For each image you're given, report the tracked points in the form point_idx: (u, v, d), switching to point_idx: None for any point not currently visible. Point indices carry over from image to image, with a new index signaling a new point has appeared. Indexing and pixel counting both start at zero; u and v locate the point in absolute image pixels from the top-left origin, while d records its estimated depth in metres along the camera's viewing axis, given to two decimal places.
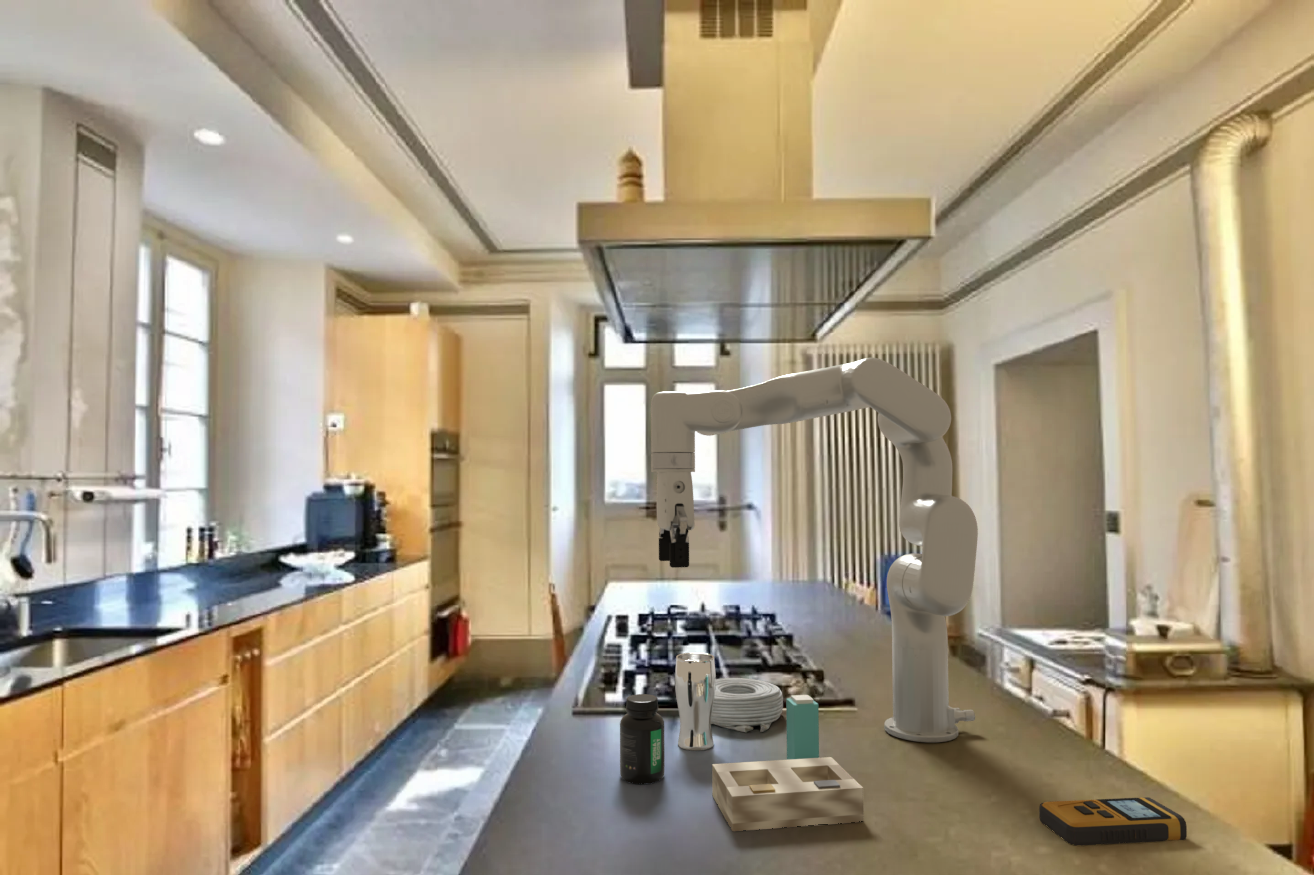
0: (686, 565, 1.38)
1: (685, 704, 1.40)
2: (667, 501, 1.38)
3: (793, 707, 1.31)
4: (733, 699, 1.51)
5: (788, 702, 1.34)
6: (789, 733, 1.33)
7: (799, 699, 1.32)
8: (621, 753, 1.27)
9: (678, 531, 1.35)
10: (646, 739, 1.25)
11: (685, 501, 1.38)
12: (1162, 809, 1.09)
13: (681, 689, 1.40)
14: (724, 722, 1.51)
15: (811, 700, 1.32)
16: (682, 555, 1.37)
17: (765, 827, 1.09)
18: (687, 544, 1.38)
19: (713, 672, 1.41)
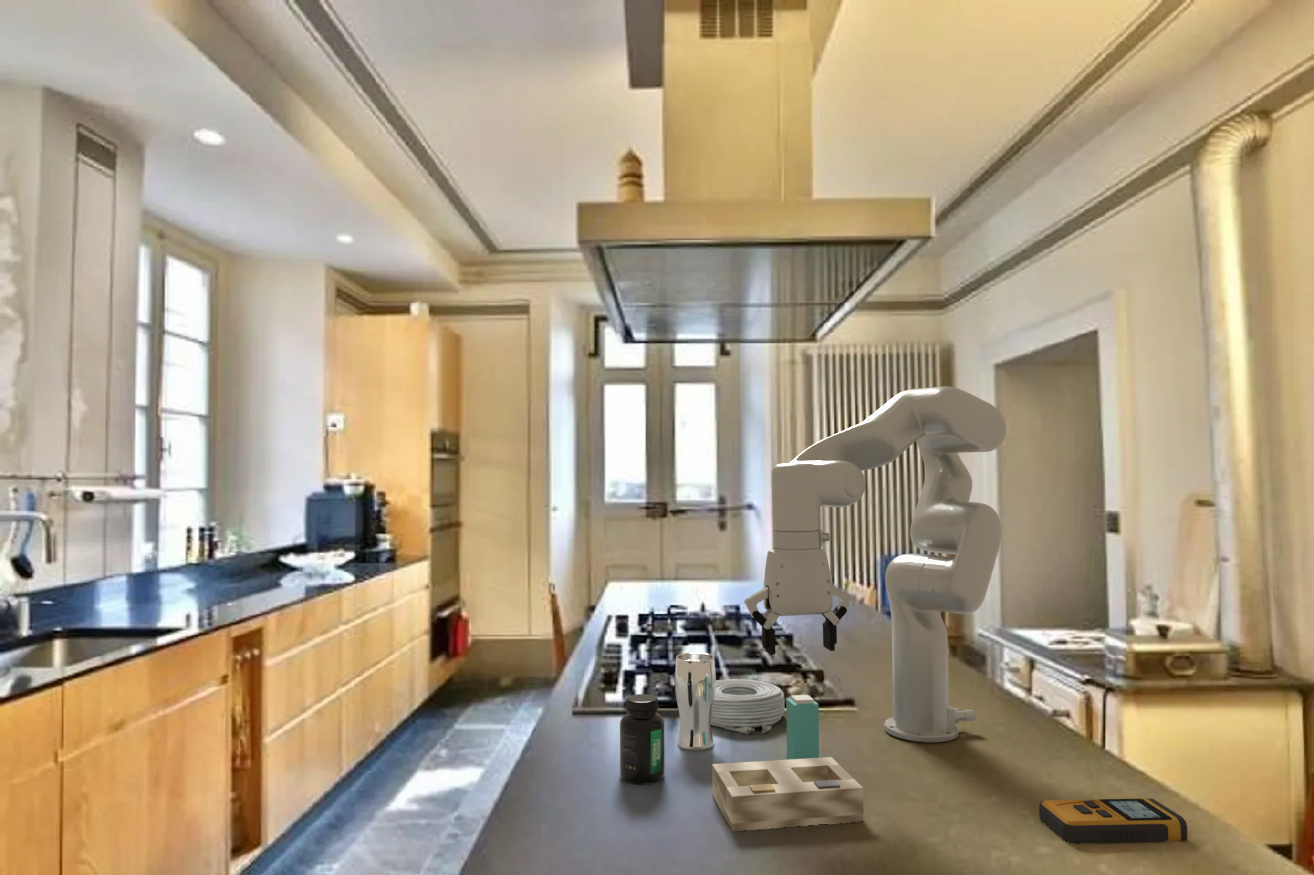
0: None
1: (685, 704, 1.40)
2: (830, 581, 1.30)
3: (794, 706, 1.31)
4: (734, 700, 1.50)
5: (788, 702, 1.34)
6: (789, 733, 1.33)
7: (799, 699, 1.32)
8: (621, 753, 1.27)
9: (846, 610, 1.31)
10: (646, 739, 1.25)
11: None
12: (1164, 810, 1.08)
13: (681, 689, 1.40)
14: (725, 723, 1.50)
15: (811, 700, 1.32)
16: None
17: (765, 827, 1.09)
18: None
19: (713, 672, 1.41)
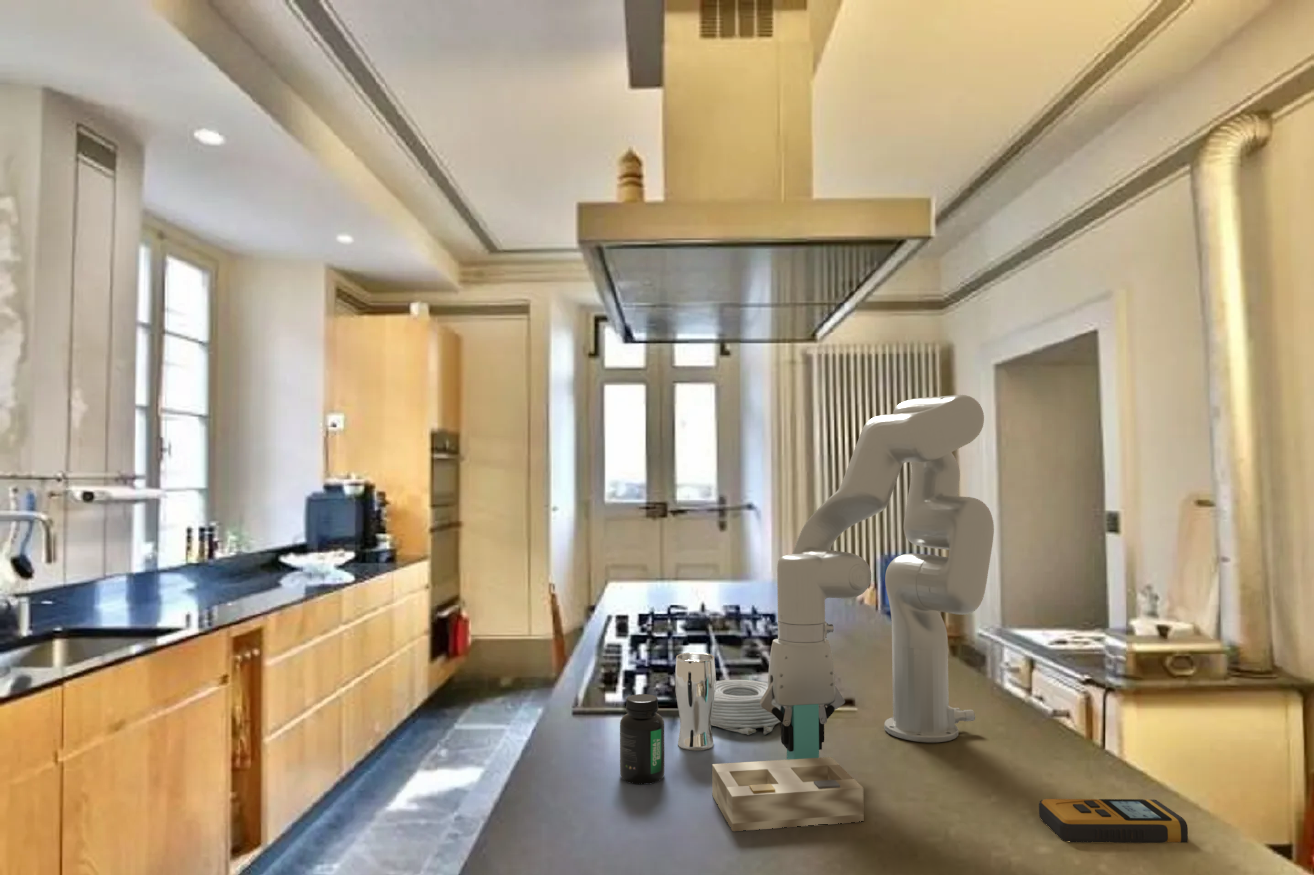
0: None
1: (686, 704, 1.40)
2: (833, 673, 1.32)
3: (794, 706, 1.31)
4: (736, 701, 1.50)
5: None
6: None
7: None
8: (621, 753, 1.27)
9: (834, 709, 1.33)
10: (646, 739, 1.25)
11: None
12: (1165, 811, 1.08)
13: (681, 689, 1.40)
14: (727, 724, 1.50)
15: None
16: None
17: (765, 827, 1.09)
18: None
19: (713, 672, 1.41)
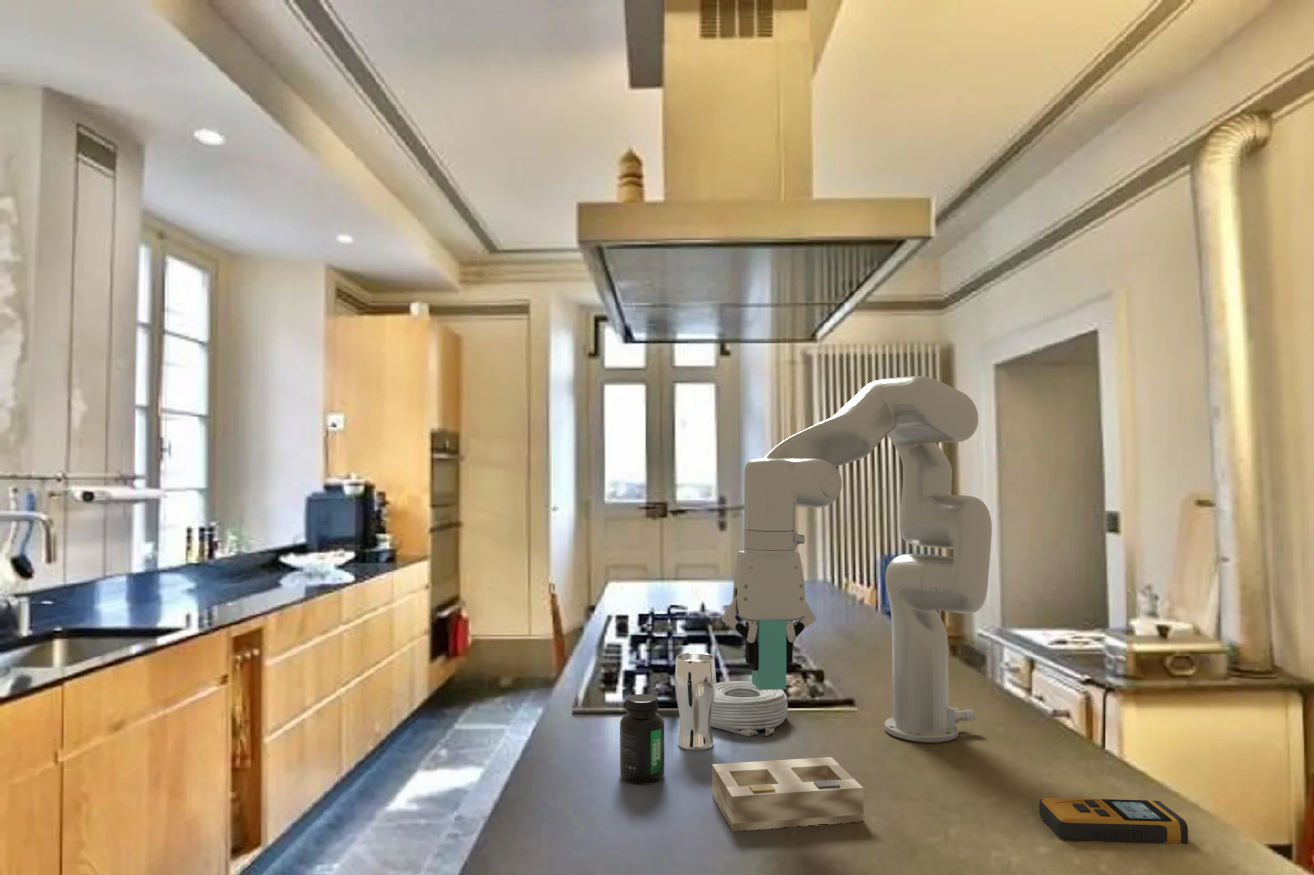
0: None
1: (685, 704, 1.40)
2: (803, 586, 1.21)
3: (759, 621, 1.20)
4: (737, 703, 1.49)
5: None
6: None
7: None
8: (621, 753, 1.27)
9: (803, 626, 1.22)
10: (646, 739, 1.25)
11: None
12: (1166, 812, 1.08)
13: (681, 689, 1.40)
14: (728, 726, 1.49)
15: None
16: None
17: (765, 827, 1.09)
18: None
19: (713, 672, 1.41)
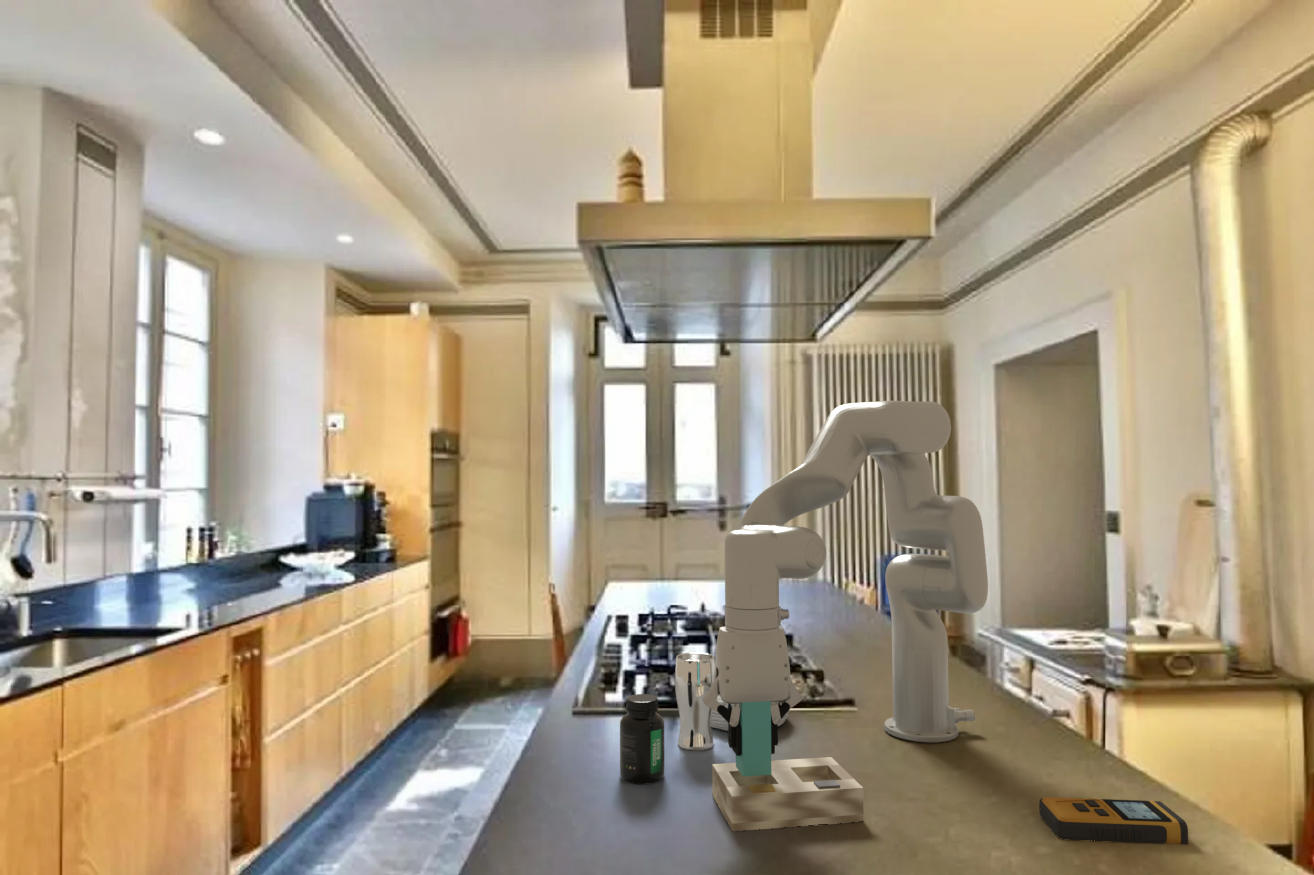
0: None
1: (685, 704, 1.40)
2: (788, 666, 1.15)
3: (742, 704, 1.14)
4: None
5: None
6: None
7: None
8: (621, 753, 1.27)
9: (789, 707, 1.16)
10: (646, 739, 1.25)
11: None
12: (1167, 813, 1.07)
13: (681, 689, 1.40)
14: None
15: None
16: None
17: (765, 827, 1.09)
18: None
19: (713, 672, 1.41)
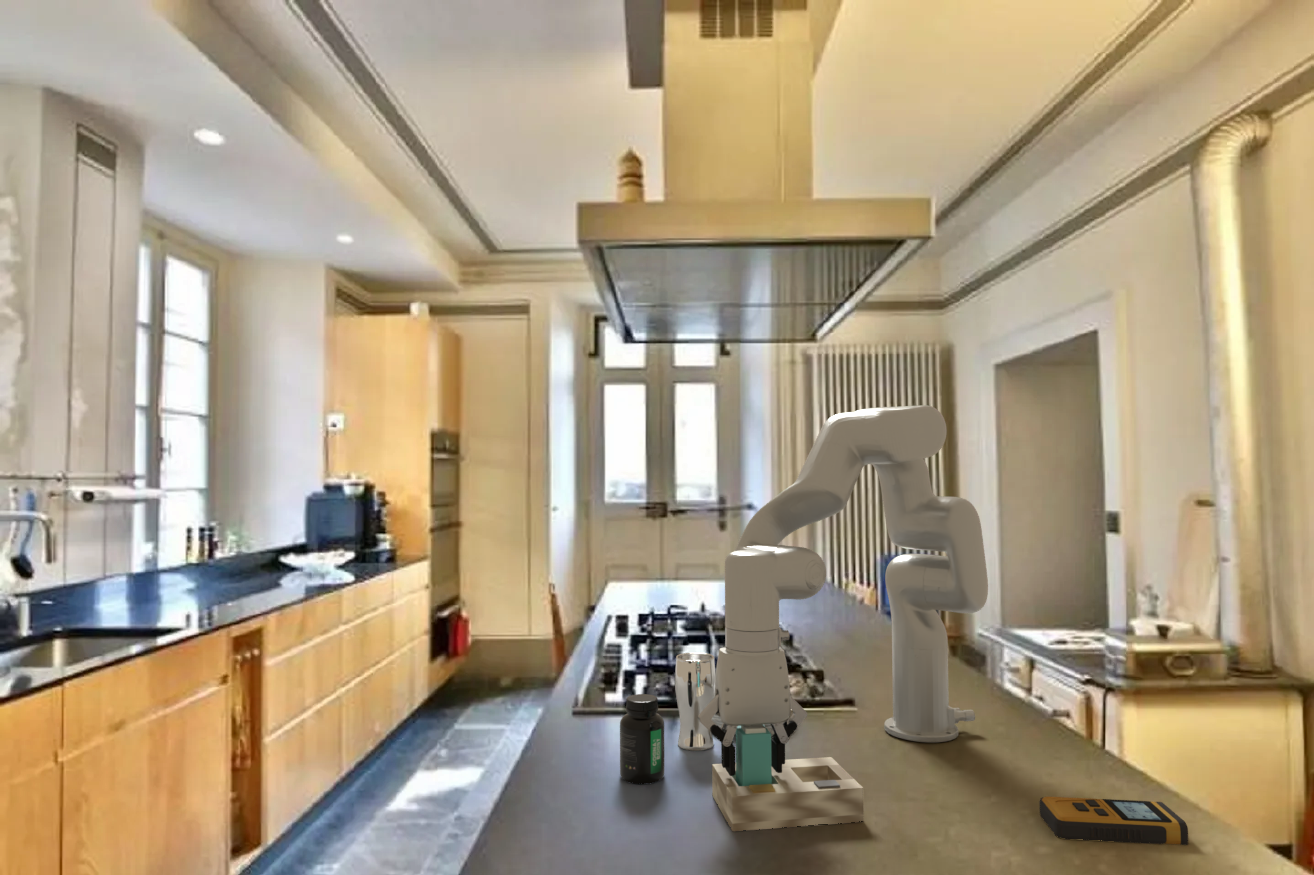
0: None
1: (685, 704, 1.40)
2: (789, 687, 1.15)
3: (742, 737, 1.13)
4: None
5: (737, 730, 1.16)
6: (738, 767, 1.16)
7: (749, 728, 1.15)
8: (621, 753, 1.27)
9: (796, 725, 1.16)
10: (646, 739, 1.25)
11: None
12: (1167, 813, 1.07)
13: (681, 689, 1.40)
14: None
15: (763, 729, 1.14)
16: None
17: (765, 827, 1.09)
18: None
19: (713, 672, 1.41)
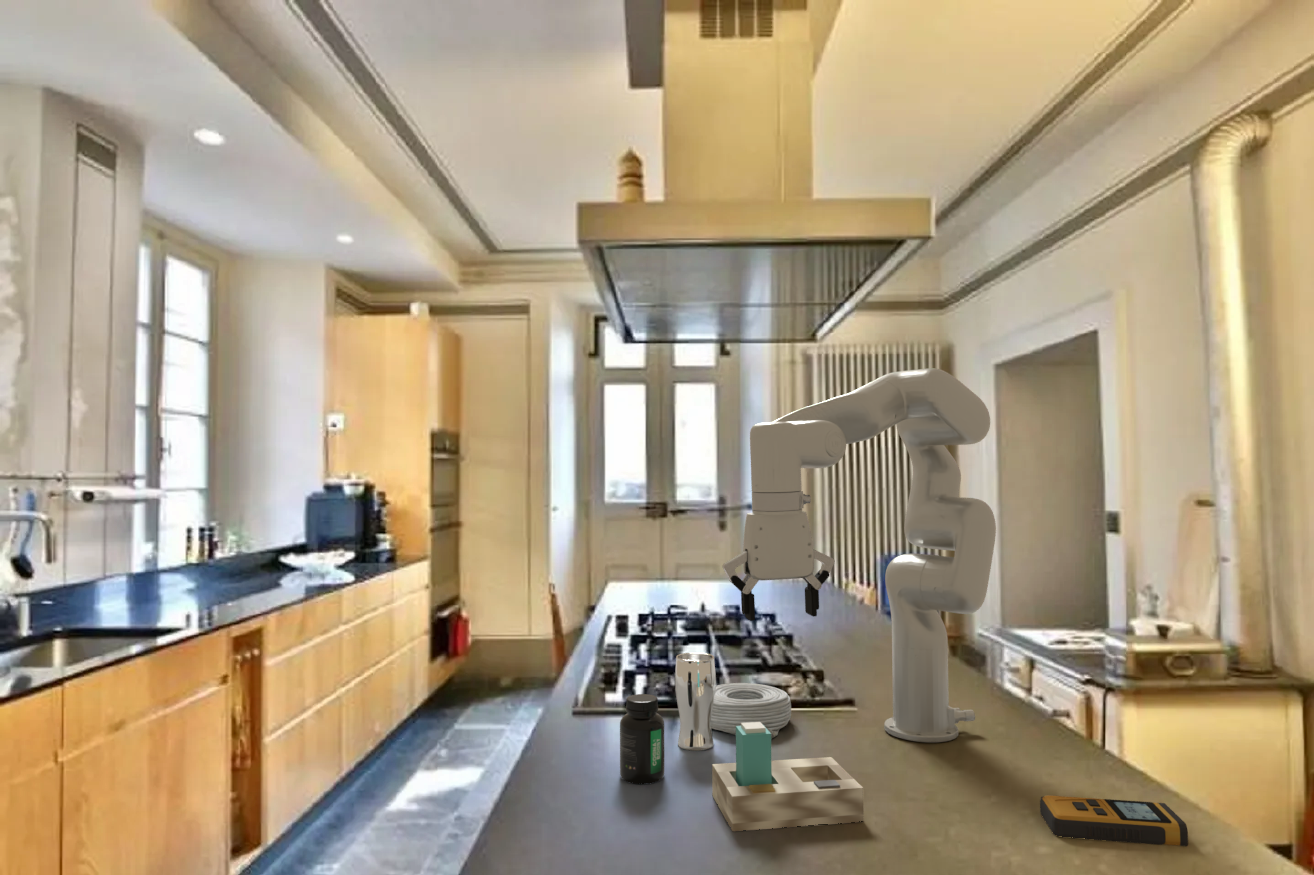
0: None
1: (685, 704, 1.40)
2: (811, 544, 1.25)
3: (742, 736, 1.14)
4: (741, 705, 1.47)
5: (737, 730, 1.16)
6: (738, 767, 1.16)
7: (749, 727, 1.15)
8: (621, 753, 1.27)
9: (828, 574, 1.27)
10: (646, 739, 1.25)
11: None
12: (1168, 814, 1.07)
13: (681, 689, 1.40)
14: (731, 729, 1.47)
15: (763, 729, 1.15)
16: None
17: (765, 827, 1.09)
18: None
19: (713, 672, 1.41)
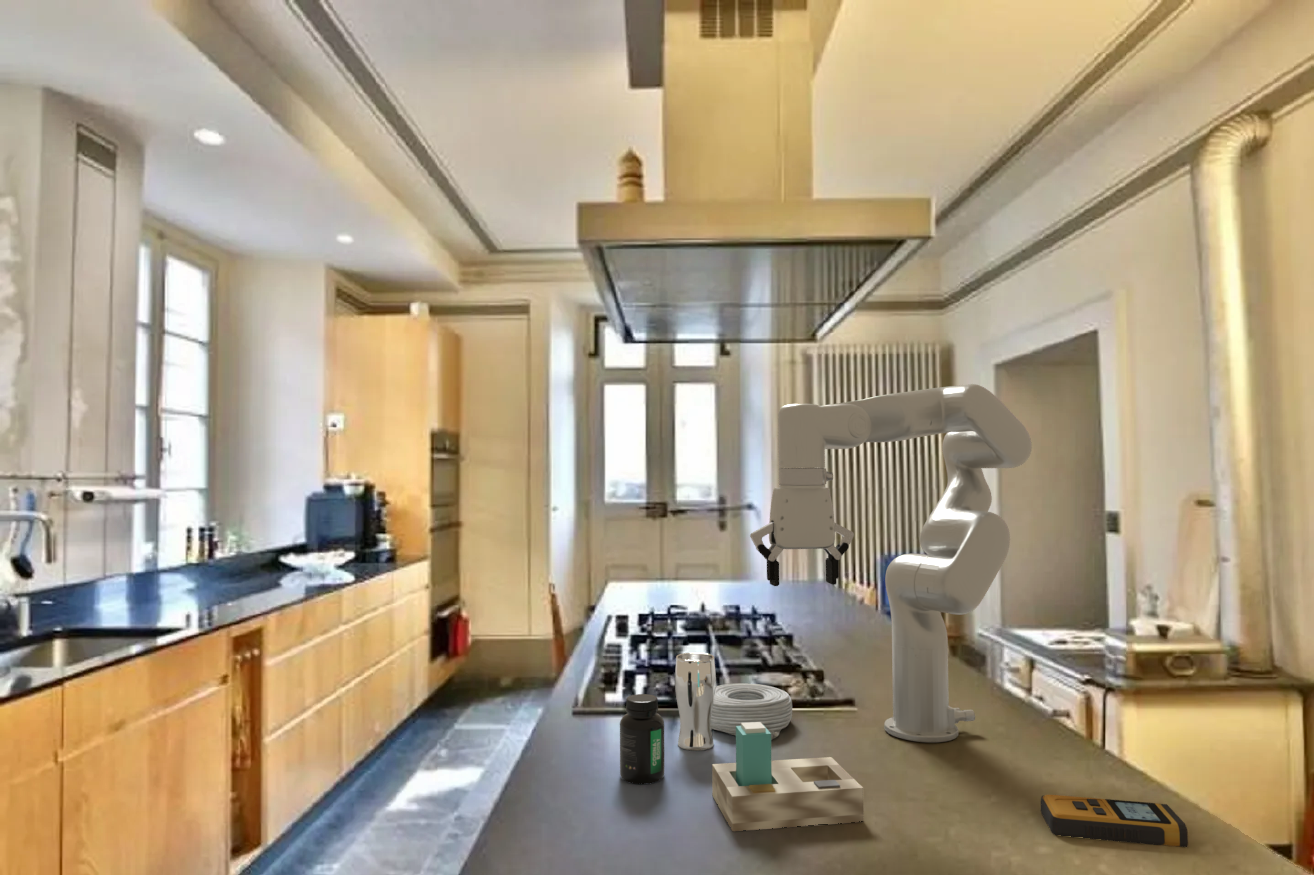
0: None
1: (685, 704, 1.40)
2: (833, 518, 1.35)
3: (742, 736, 1.14)
4: (742, 706, 1.47)
5: (737, 730, 1.16)
6: (738, 767, 1.16)
7: (749, 727, 1.15)
8: (621, 753, 1.27)
9: (848, 546, 1.37)
10: (646, 739, 1.25)
11: None
12: (1169, 815, 1.07)
13: (681, 689, 1.40)
14: (733, 729, 1.47)
15: (763, 729, 1.15)
16: None
17: (765, 827, 1.09)
18: None
19: (713, 672, 1.41)
